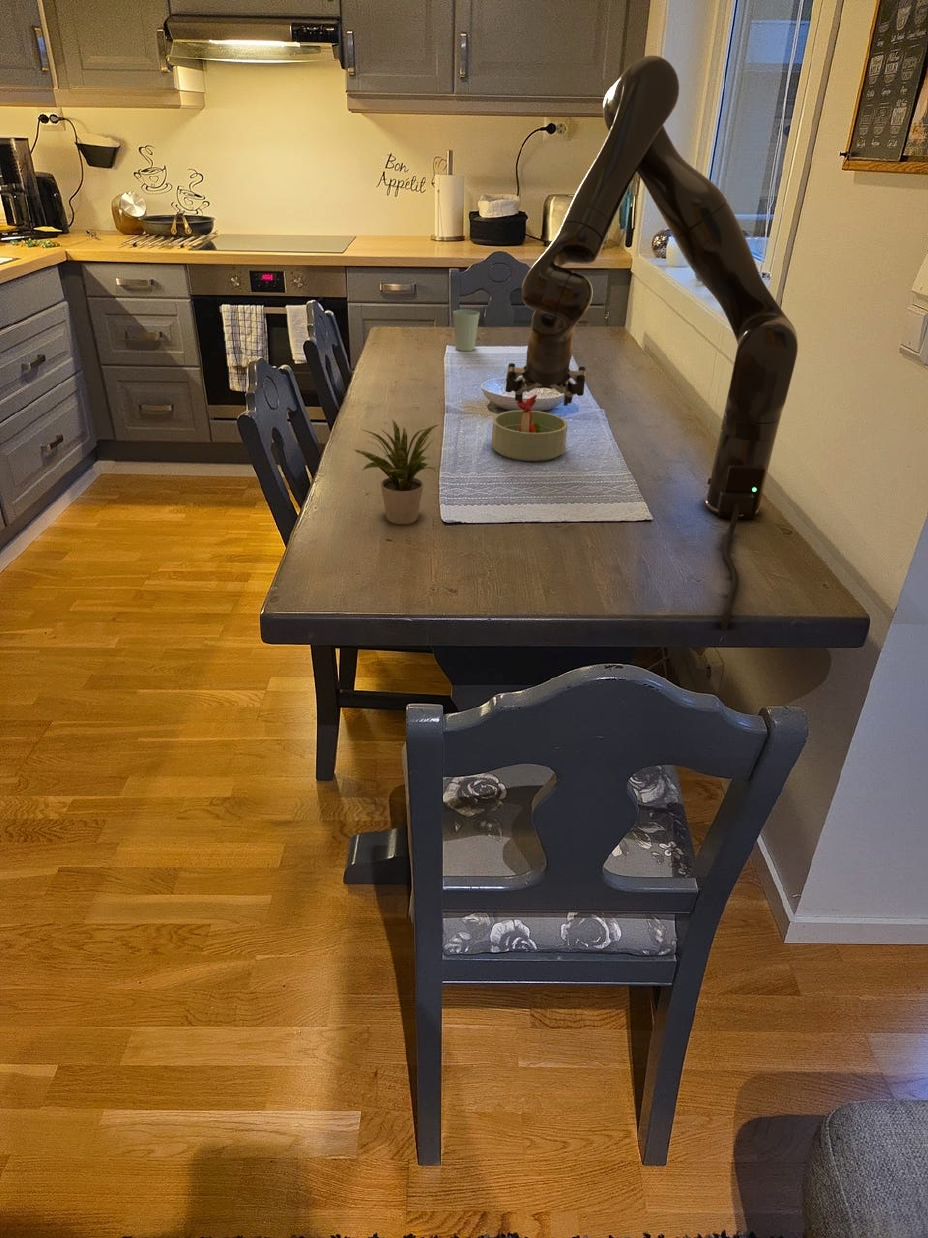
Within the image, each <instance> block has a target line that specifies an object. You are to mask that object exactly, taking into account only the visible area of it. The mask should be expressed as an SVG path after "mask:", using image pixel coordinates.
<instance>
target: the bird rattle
mask: <svg viewBox="0 0 928 1238" xmlns="http://www.w3.org/2000/svg"><path fill="white" fill-rule="evenodd" d="M537 398H538V395H537V394H534V395H532V396H531V397H530V398H528V399H526V401H524V400H523V399H522V404H520V403H518V401H516V405H517V406H518V408H519V409H520V410H524V411H523V413H522V421H521V425H520V426H519V428H518V430H517V431H520V432H529V433H543V431H542V430H541V429H540V424H539V423H538V422H535V423H533V419H532V411H533V410H531V409H532V408H533V407H534V406H535V404H536V402H537V401H536V399H537Z"/></svg>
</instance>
